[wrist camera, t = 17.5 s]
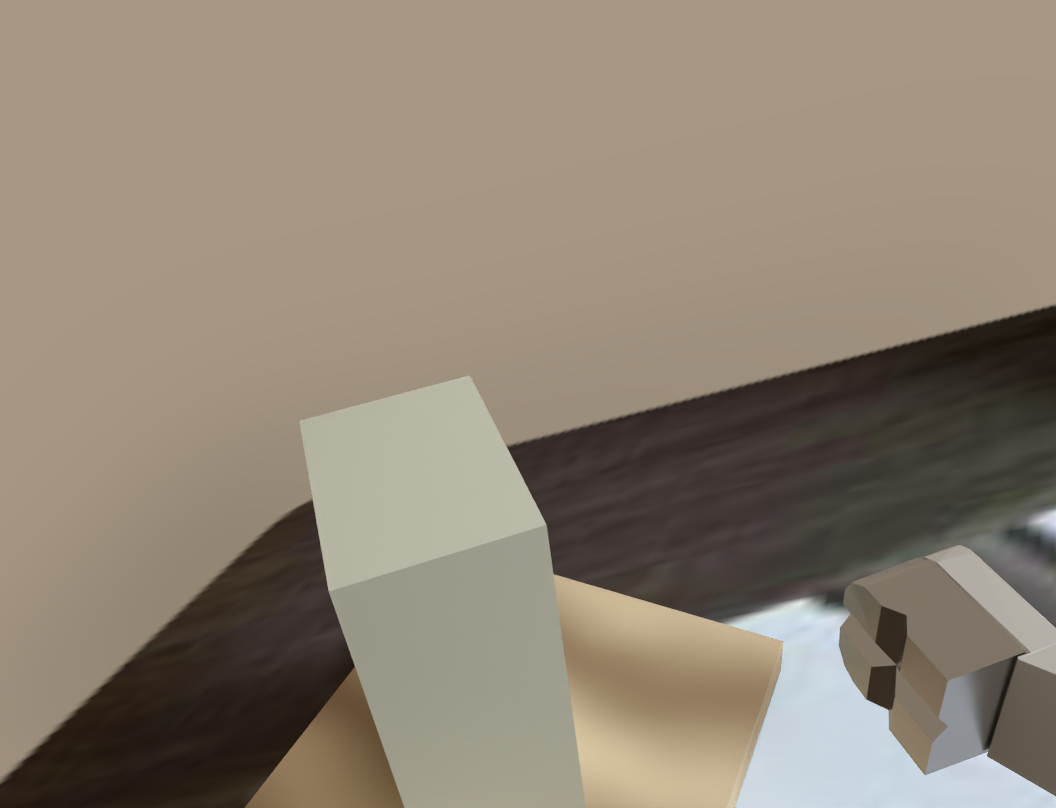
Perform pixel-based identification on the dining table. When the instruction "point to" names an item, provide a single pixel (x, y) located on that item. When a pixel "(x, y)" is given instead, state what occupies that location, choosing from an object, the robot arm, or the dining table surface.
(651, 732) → the cutting board
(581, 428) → the dining table surface
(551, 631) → the sage block
